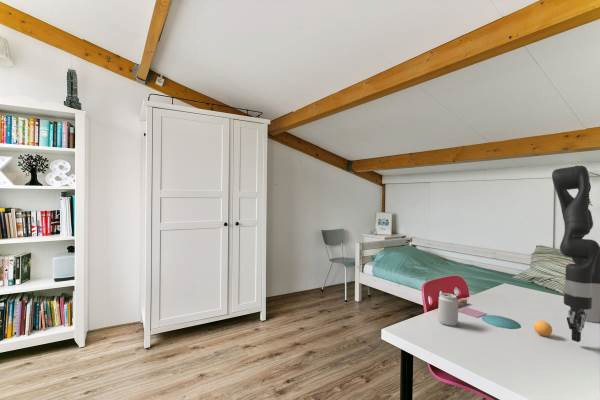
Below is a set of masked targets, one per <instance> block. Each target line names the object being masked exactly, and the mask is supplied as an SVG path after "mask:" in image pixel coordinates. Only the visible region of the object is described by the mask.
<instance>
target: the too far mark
mask: <svg viewBox="0 0 600 400" xmlns="http://www.w3.org/2000/svg"><path fill="white" fill-rule="evenodd" d="M458 313H461V314H465V315H468V316H471V317H473V318H480V317H481V318H482V316H484V315H488V313H487V312H483V311H481V310H477V309H474V308H470V307H465V308H462V309H461V308H460V309H458Z"/></svg>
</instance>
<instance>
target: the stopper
mask: <svg viewBox="0 0 600 400" xmlns="http://www.w3.org/2000/svg"><path fill="white" fill-rule="evenodd" d="M457 299H458V308H459V307H463V306H466V305H467V304H468V299H467V298H465V297H461V298H457Z"/></svg>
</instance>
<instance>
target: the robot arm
mask: <svg viewBox="0 0 600 400" xmlns="http://www.w3.org/2000/svg"><path fill="white" fill-rule="evenodd" d="M551 179H552V183H553V186H554V189H555V192H556V194H557V198H558V201H559V204H560V209H561V214H562V219H563V223H564V224H563V225H564V231H563V232H564V234H563V237H562V240H561V242H560V245H559V250H560V253H561V254H562V256H564V257H568V258H571V260H572V262H573V263H568V264H566V266H565V277H564V278H565V279H564V284H563V285H564V286H563V304H564V305H565V306H568V307H570V309H569V310H568V311H567V313H568V316H567V317H566V321H567V324H568V328H569V330H571V340H572V341H573V342H577V343H579V342H581V341H582V339H581V338H582V331H583V329H584V328H585V323H586V322H590V323H600V244H599V243H598V242H597V241H596V240H594V239H588V238H584V237H585V236H587V235H589V234H590V232H591V230H592V228H593V227H594V221H593V216H592V211H591V210H590V209H589V203H590V188H591V187H590V185H591V184H590V183H591V182H590V175H589V171H588V168H587V167H586V166H585V165H575V166H567V167H561V168H556V169H554V170H553V171H552V173H551ZM569 190H577V194H576V196H575V197H573V195H571V194H570V193H569Z"/></svg>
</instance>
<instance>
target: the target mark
mask: <svg viewBox="0 0 600 400" xmlns="http://www.w3.org/2000/svg"><path fill="white" fill-rule="evenodd" d="M481 320H482V321H483V322H485V323H487V324H489V325H491V326H493V327H494V326H495V327H497V328H502V329H513V330H517V329H520V328H521V327H522V326H521V323H520V322H517V321H516V320H514V319H511V318H509V317H505V316H500V315H495V314H486V315H483V316H481Z"/></svg>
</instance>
